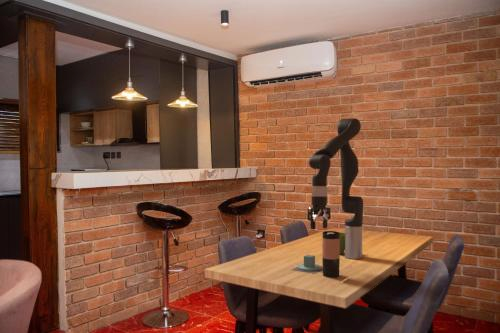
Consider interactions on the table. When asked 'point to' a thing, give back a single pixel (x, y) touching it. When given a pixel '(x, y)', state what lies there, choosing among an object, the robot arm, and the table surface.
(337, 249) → the travel mug
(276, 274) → the table surface
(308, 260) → the lid
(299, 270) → the mat
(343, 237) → the plant pot
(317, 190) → the robot arm
